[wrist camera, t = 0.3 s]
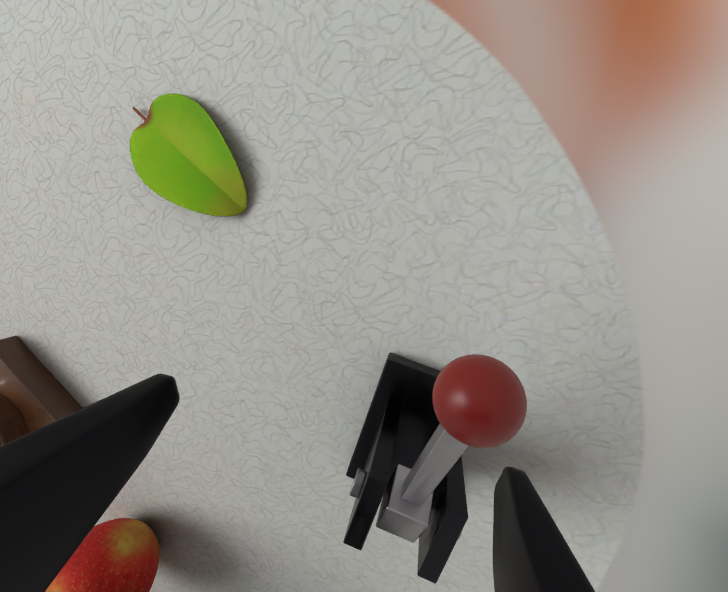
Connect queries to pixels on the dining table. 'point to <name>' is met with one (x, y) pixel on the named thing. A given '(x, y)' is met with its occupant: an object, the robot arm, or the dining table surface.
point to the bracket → (404, 461)
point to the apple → (112, 560)
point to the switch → (454, 436)
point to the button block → (28, 393)
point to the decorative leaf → (187, 158)
